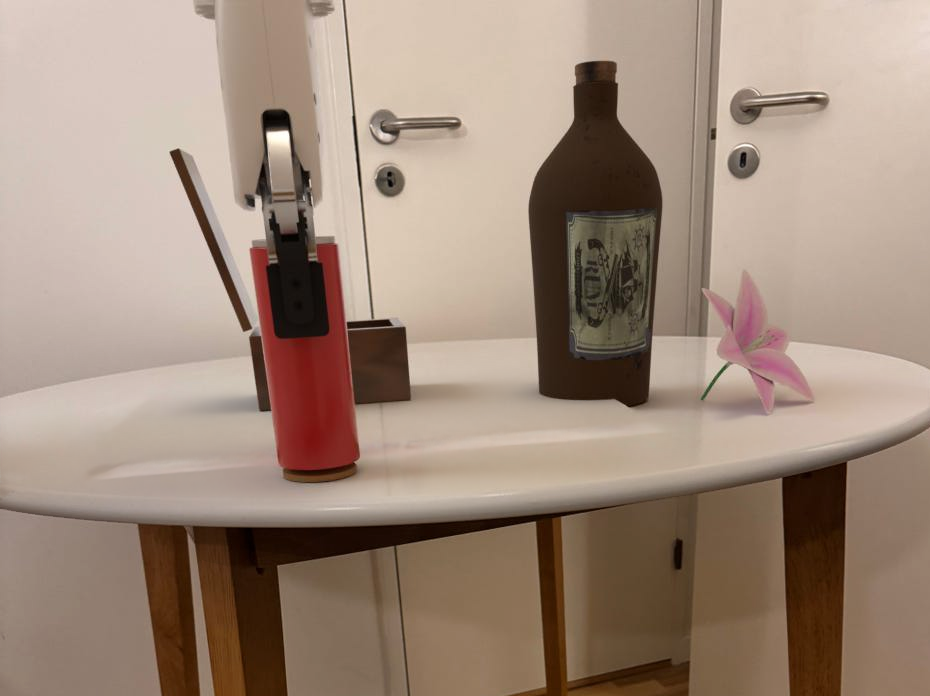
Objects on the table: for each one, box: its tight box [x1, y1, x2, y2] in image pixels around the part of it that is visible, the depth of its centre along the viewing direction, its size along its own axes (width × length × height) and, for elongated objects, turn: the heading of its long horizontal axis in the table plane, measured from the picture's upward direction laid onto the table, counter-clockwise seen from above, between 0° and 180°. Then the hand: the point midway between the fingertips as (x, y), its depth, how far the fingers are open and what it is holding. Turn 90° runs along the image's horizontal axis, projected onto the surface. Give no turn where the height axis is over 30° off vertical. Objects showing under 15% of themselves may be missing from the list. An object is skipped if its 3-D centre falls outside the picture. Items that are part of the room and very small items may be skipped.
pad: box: [282, 462, 358, 483], centre depth 61 cm, size 5×5×1 cm
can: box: [248, 235, 361, 470], centre depth 58 cm, size 5×5×13 cm
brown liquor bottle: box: [527, 60, 664, 407], centre depth 75 cm, size 11×11×25 cm
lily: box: [700, 269, 816, 416], centre depth 75 cm, size 12×12×10 cm
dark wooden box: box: [248, 317, 412, 413], centre depth 82 cm, size 13×8×7 cm, turn 99°
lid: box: [169, 148, 259, 333], centre depth 76 cm, size 14×8×1 cm
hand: (303, 328), depth 58 cm, fingers closed on can, 5 cm apart
